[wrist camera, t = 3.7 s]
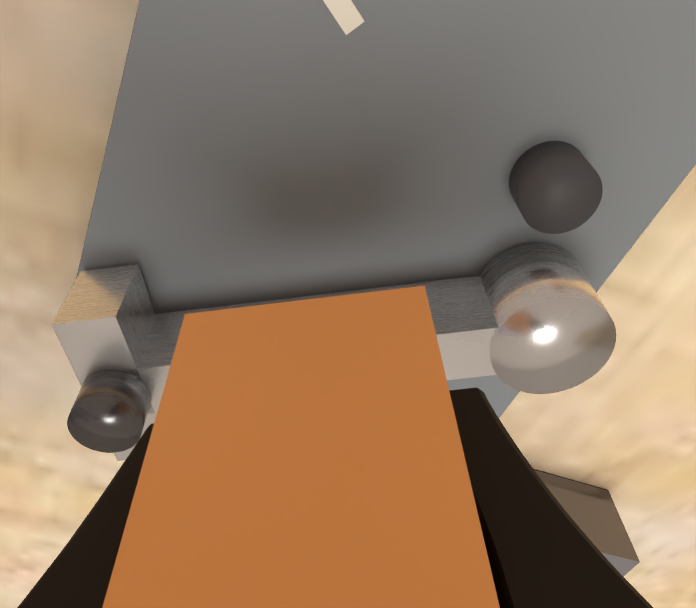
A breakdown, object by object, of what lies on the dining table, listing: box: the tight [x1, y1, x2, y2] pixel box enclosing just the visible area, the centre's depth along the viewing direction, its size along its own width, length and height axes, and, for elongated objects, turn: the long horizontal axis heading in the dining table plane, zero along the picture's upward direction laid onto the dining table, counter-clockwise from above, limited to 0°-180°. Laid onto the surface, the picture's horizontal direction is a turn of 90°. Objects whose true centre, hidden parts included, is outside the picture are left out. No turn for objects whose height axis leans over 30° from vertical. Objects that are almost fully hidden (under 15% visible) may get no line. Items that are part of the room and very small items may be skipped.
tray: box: [534, 470, 640, 576], centre depth 27 cm, size 12×12×3 cm
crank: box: [52, 243, 616, 461], centre depth 18 cm, size 14×5×4 cm, turn 97°
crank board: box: [76, 0, 696, 418], centre depth 17 cm, size 16×14×2 cm
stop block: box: [102, 286, 500, 608], centre depth 10 cm, size 4×4×6 cm
